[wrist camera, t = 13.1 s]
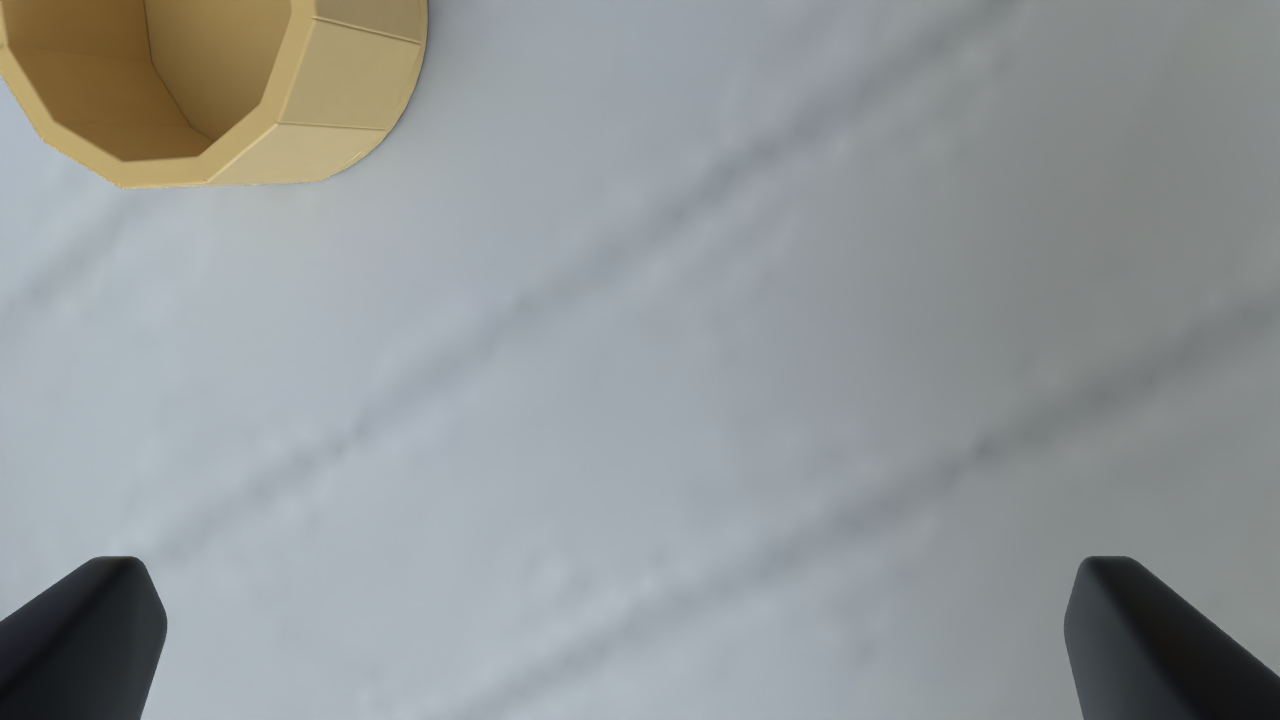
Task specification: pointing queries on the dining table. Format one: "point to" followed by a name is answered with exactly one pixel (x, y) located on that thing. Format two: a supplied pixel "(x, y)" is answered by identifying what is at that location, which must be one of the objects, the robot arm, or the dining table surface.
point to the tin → (212, 84)
